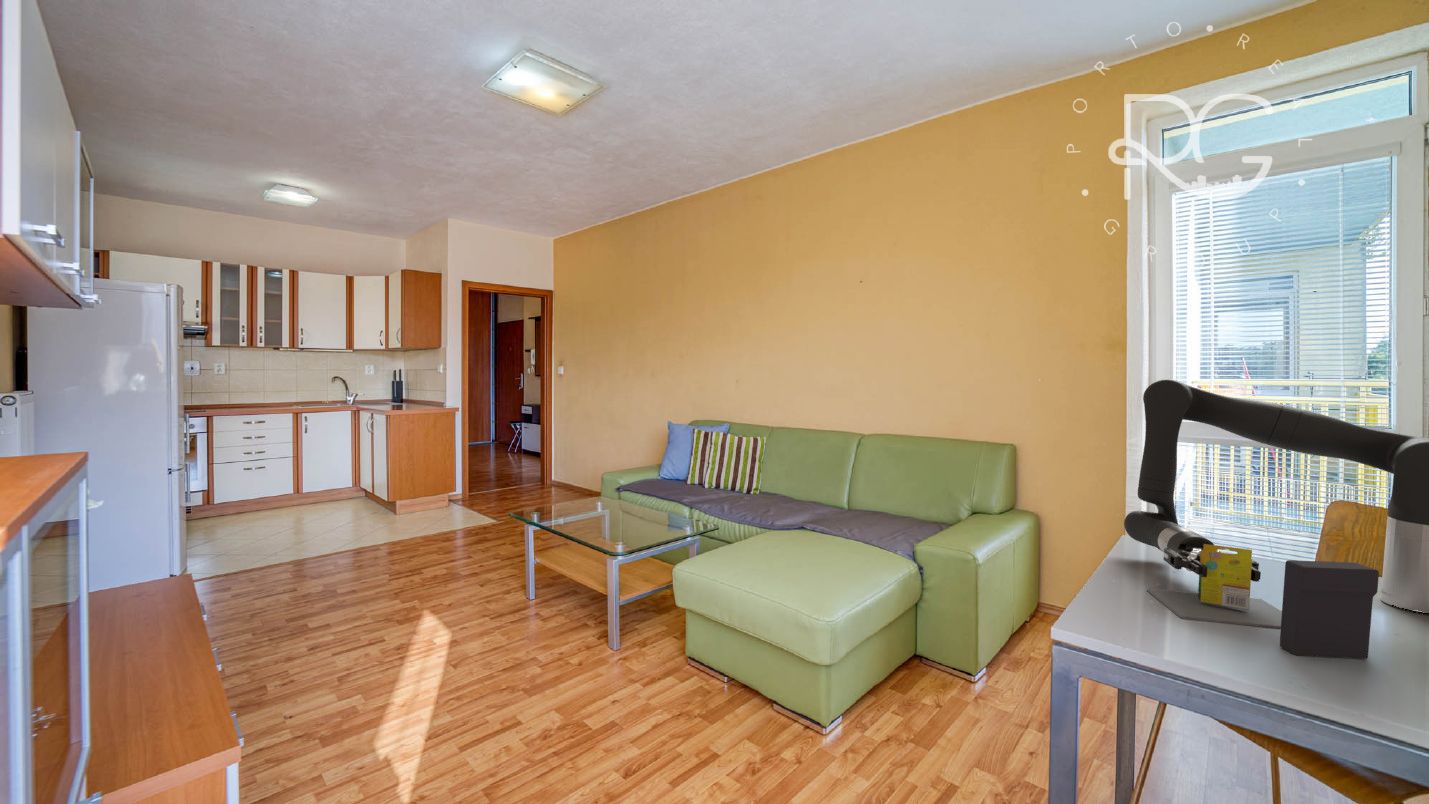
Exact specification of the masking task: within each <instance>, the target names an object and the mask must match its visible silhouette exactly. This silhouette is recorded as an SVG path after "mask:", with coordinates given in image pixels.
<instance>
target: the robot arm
mask: <svg viewBox="0 0 1429 804" xmlns="http://www.w3.org/2000/svg"><path fill="white" fill-rule="evenodd" d="M1142 395H1143V396H1142V401H1143V407H1144V416H1145V417H1144V418H1145V436H1144V437H1145V438H1144V447H1143V452H1142V460H1141V464H1140V470H1139V478H1138V479H1139V480H1138V487H1137V497H1138V499H1139V500H1141V501H1143V502H1146V503H1149V504H1151V505H1155V506H1156V508H1157V512H1152V511H1143V510H1133V511H1130V512H1129V513H1128V514H1127V515H1126V516H1125V518H1124V520H1123V521H1124V522H1123V526H1124V529H1125V531H1126V534H1127V535H1128V536H1129V537H1130V538H1131V539H1133V540H1135V541H1137V542H1139V543H1142V544H1145V545H1147V546H1151V547H1154V548H1157V550H1159V551H1161V552H1162V553H1163V559H1162V560H1163V561H1164V562H1166V563H1167V564H1169V566H1171V567H1172V568H1174V569H1176V570H1182V569H1183V568H1184V569H1185V570H1186V571H1188V572H1193V573H1194V574H1197V575H1198V577H1199V576H1201V577H1207V566H1205V565H1204V564H1202V563H1201V562H1200V550H1203V544H1209V545H1215V544H1214V542H1212V540H1210V539H1209V538H1207V537H1205V536H1202V535H1200V534H1199V533H1196V532H1195V531H1193V530H1191V529H1188V528H1185V527H1183V526H1181V524H1180V525H1179V522H1178V518H1177V517H1178V516H1177V514H1176V506H1175V501H1174V499H1175V498H1174V495H1175V489H1176V488H1175V487H1176V479H1177V470H1178V469H1177V468H1178V466H1177V465H1178V442H1179V441H1178V440H1179V433H1180V429H1181V426H1182V422H1183V420H1185V421H1192V422H1195V423H1201V424H1206V425H1209V426H1213V427H1216V428H1219V429H1221V430H1223V431H1226V432H1228V433H1229V432H1230V433H1232V434H1234V435H1237V436H1240V437H1242V438H1244V439H1248V440H1251V441H1253V442H1257V443H1260V444H1263V445H1267V446H1270V447H1274V448H1275V447H1276V448H1279V449H1283V450H1286V451H1290V452H1294V453H1295V452H1296V453H1299V454H1300V453H1301V454H1305V455H1312V456H1319V457H1327V458H1333V459H1339V460H1340V459H1341V460H1344V461H1345V460H1347V461H1351V462H1355V463H1359V464H1361V465H1362V464H1363V465H1365V466H1368V467H1372V468H1375V469H1377V470H1381V471H1384V472H1387V473H1389V474H1392V475H1393V477H1392V489H1391V497H1390V500H1389V503H1388V504H1387V505H1388V506H1387V519H1386V529H1385V530H1386V533H1385V541H1384V542H1385V543H1384V553H1383V565H1382V576H1381V577H1382V578H1381V590H1380V601H1382V602H1383V603H1385V604H1388V605H1390V606H1392V605H1394V606H1393V607H1395V606H1396V607H1395V608H1398V607H1399V609H1402V608H1404V609H1403V610H1405V608H1406V609H1409V610H1418V611H1422V612H1424V613H1429V437H1423V436H1422V437H1421V436H1414V435H1409V434H1403V433H1402V434H1401V433H1394V432H1389V431H1382V430H1378V429H1377V430H1376V429H1373V428H1369V427H1368V428H1367V427H1364V426H1360V425H1357V424H1354V423H1350V422H1348V421H1344V420H1342V419H1341V420H1340V419H1338V418H1335V417H1333V416H1329V415H1325V414H1322V413H1318V412H1314V411H1311V410H1306V409H1302V408H1298V407H1295V406H1294V407H1293V406H1289V405H1285V404H1284V405H1283V404H1280V403H1276V402H1275V403H1274V402H1270V401H1265V400H1264V401H1263V400H1256V399H1250V398H1241V397H1235V396H1234V397H1233V396H1227V395H1226V396H1225V395H1222V394H1218V393H1215V392H1210V391H1207V390H1203V389H1200V388H1198V387H1195V386H1191V385H1188V384H1185V383H1184V382H1181V381H1178V380H1175V379H1170V378H1168V379H1160V380H1156V381H1154V382H1152V383H1150V384H1149V385H1148V386H1147V387H1146V389H1145V390H1144V392H1143V394H1142ZM1217 552H1221V551H1220V550H1219V549H1217ZM1251 560H1252V568H1251V582H1257V583H1258V582H1260V580H1261V575H1262V574H1261V571H1260V570H1259V569H1260V562H1258V561H1256V560H1254V559H1252V558H1251ZM1409 610H1408V611H1409Z"/></svg>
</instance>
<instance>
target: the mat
mask: <svg viewBox="0 0 1429 804" xmlns="http://www.w3.org/2000/svg"><path fill="white" fill-rule="evenodd" d="M1145 590H1147V591H1146V592H1148V594H1150V593H1151V594H1152V595H1151V594H1150V595H1151V596H1152V597H1154V598H1155V599H1156V600H1157V601H1158V602H1159V603H1161V604H1162V603H1163V605H1164V607H1166V608H1167V609H1168V610H1170V611H1171V612H1172V613H1173V614H1175V615H1176V616H1177V617H1178V618H1179V619H1182V620H1183V619H1184V620H1193V621H1203V622H1211V623H1212V622H1214V623H1224V624H1232V625H1233V624H1234V625H1243V626H1251V627H1261V628H1262V627H1263V628H1271V629H1272V628H1273V629H1280V630H1281V618H1282V610H1281V609H1279V608H1277V607H1275V606H1274V605H1272V604H1270V603H1268V602H1267V601H1265V600H1264V599H1263V598H1252V597H1250V609H1249V610H1245V609H1240V608H1235V607H1229V606H1223V605H1217V604H1211V603H1203V602H1200V600H1199V598H1198V593H1197V592H1188V591H1187V592H1186V591H1177V590H1166V589H1152V588H1146V589H1145Z"/></svg>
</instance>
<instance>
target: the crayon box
mask: <svg viewBox="0 0 1429 804" xmlns="http://www.w3.org/2000/svg"><path fill="white" fill-rule="evenodd" d="M1217 550H1222V551H1223V550H1229V551H1232V552H1235V553H1227V552H1221V551H1220V552H1217ZM1252 552H1253V550H1252V549H1248V548H1240V547H1232V546H1224V545H1223V546H1222V545H1215V544H1214V545H1209V544H1203V550H1200V562H1201V563H1202V564H1204V565H1205V566H1207V577H1201V576H1199V575H1198V590H1197V592H1198V598H1199V600H1200V602H1203V603H1211V604H1217V605H1223V606H1229V607H1235V608H1240V609H1245V610H1249V609H1250V598H1251V583H1252V580H1251V568H1252V560H1253V559H1252V558H1253V557H1252ZM1251 559H1252V560H1251Z"/></svg>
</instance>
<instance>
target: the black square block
mask: <svg viewBox="0 0 1429 804" xmlns="http://www.w3.org/2000/svg"><path fill="white" fill-rule="evenodd" d="M1379 577H1380V572H1379V570H1378V569H1375V568H1372V567H1369V566H1367V565H1364V564H1361V563H1358V562H1350V561H1349V562H1348V561H1347V562H1346V561H1322V560H1321V561H1318V560H1296V559H1295V560H1291V559H1290V560H1286V561H1285V566H1284V577H1283V578H1284V580H1283V581H1284V582H1283V591H1282V592H1283V593H1282V607H1281V608H1282V609H1281V611H1282V618H1281V629H1280V632H1279V633H1280V634H1279V647H1281V648H1282V649H1284V650H1285V651H1287V652H1288V653H1290V654H1293V655H1295V656H1297V657H1298V656H1300V657H1301V656H1302V657H1318V658H1321V657H1322V658H1338V659H1339V658H1340V659H1343V658H1344V659H1359V660H1366V659H1368V658H1369V651H1370V650H1369V649H1370V646H1369V645H1370V639H1371V638H1370V637H1371V636H1370V635H1371V624H1372V614H1373V603H1374V602H1373V601H1374V597H1375V596H1376V595H1377V593H1378V589H1379V588H1378V587H1379Z"/></svg>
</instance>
